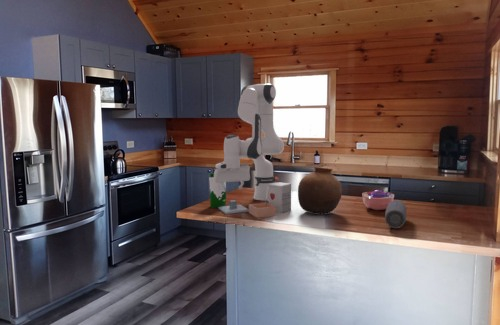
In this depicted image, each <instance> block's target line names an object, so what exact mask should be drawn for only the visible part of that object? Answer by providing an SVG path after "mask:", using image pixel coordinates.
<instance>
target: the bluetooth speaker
mask: <svg viewBox="0 0 500 325" xmlns="http://www.w3.org/2000/svg"><path fill="white" fill-rule="evenodd" d="M384 213H385V215H384V218H385V222H386V224H387V225H388V226H389V227H390V228H393V229H398V228H402V227H403V226H404V224H406V220H407V214H408V213H407V207H406V205H405V203H404V202H403V201H401V200H399V199H395V200H394V199H393V201H391V202H390V203H389V204H388V206H387V209H385V212H384Z"/></svg>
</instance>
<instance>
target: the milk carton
mask: <svg viewBox="0 0 500 325" xmlns="http://www.w3.org/2000/svg"><path fill="white" fill-rule="evenodd" d="M209 174H210V176H209V178H208V181H209V182H208V183H209V201H210V203H209V204H210V208H211V209H219V207H221V206H227V189H226V190H222V186H221V184H220V182H219V183H216V182H215V181H214V172H210V173H209ZM223 186H224V187H226V188H227V182H224V184H223Z"/></svg>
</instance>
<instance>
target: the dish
mask: <svg viewBox="0 0 500 325" xmlns="http://www.w3.org/2000/svg"><path fill="white" fill-rule="evenodd" d="M248 213H249V214H250V215H251V216H253V217H255V218H256V219H260V218H263V217H264V218H268V217H272V216H273V217H277V211H276V206H274V205H271V204H269V202H260V203H250V204H248Z"/></svg>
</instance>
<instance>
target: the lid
mask: <svg viewBox="0 0 500 325" xmlns="http://www.w3.org/2000/svg"><path fill="white" fill-rule="evenodd" d="M228 204H229V205H226V206H221V207H219V208H218V210H219V211H221V212H222V213H223V214H225V215H227V214H238V213H247V212H248V213H249V208H247V207H246V206H243V205H241V204H238V201H237V200H235V199H233V200H232V199H231V200H229V203H228Z"/></svg>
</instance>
